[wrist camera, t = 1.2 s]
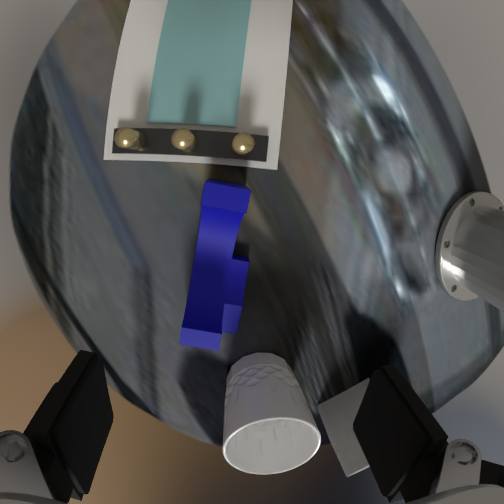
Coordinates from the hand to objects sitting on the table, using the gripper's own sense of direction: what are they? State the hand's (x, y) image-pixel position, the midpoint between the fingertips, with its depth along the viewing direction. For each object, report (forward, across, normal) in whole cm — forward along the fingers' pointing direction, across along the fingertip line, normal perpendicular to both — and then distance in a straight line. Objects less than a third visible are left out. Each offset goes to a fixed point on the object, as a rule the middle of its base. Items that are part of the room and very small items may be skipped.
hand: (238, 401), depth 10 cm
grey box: (+18, -15, +17) cm, 29 cm away
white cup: (+18, -4, +13) cm, 23 cm away
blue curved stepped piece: (+19, +1, 0) cm, 19 cm away
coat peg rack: (+17, +4, -9) cm, 19 cm away
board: (+18, +4, -16) cm, 25 cm away
